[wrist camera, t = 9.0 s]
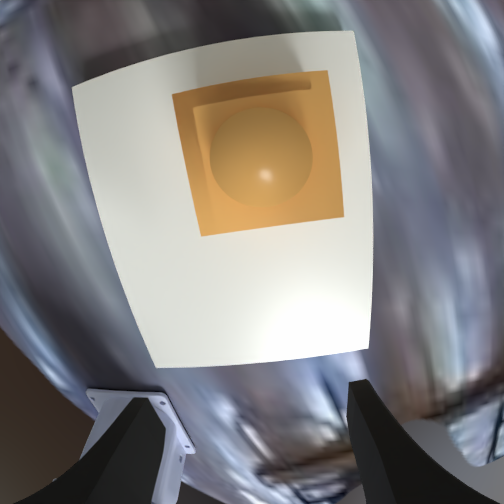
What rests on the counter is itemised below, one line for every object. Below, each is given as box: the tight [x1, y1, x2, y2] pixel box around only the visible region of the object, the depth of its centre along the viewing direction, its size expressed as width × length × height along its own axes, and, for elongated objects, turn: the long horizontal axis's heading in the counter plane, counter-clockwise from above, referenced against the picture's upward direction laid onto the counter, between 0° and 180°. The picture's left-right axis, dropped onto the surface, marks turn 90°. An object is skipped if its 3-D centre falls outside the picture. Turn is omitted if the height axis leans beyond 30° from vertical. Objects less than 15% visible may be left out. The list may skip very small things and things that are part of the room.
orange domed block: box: [172, 70, 344, 237], centre depth 12 cm, size 5×5×6 cm
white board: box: [72, 31, 373, 368], centre depth 17 cm, size 18×14×2 cm
